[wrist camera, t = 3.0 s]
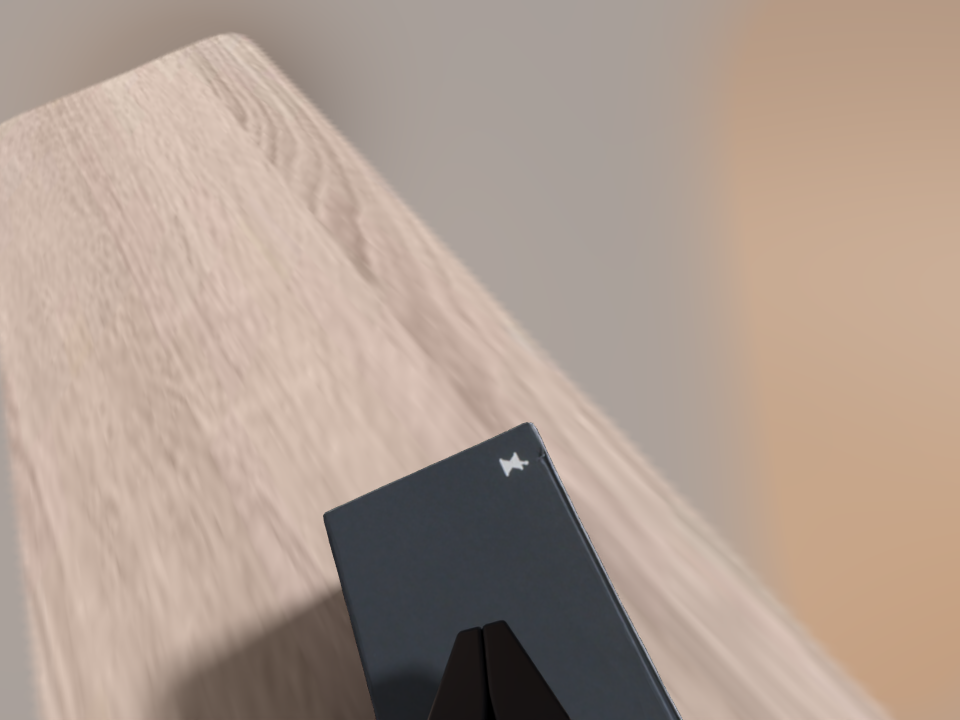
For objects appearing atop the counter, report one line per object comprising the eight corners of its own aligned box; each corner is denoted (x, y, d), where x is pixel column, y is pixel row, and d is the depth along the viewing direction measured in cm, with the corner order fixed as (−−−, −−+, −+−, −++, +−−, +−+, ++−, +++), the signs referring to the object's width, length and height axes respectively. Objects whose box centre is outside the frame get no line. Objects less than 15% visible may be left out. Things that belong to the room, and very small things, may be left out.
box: (411, 546, 21) (314, 507, 11) (531, 492, 21) (537, 411, 12) (482, 762, 17) (431, 973, 8) (623, 691, 18) (738, 805, 8)
